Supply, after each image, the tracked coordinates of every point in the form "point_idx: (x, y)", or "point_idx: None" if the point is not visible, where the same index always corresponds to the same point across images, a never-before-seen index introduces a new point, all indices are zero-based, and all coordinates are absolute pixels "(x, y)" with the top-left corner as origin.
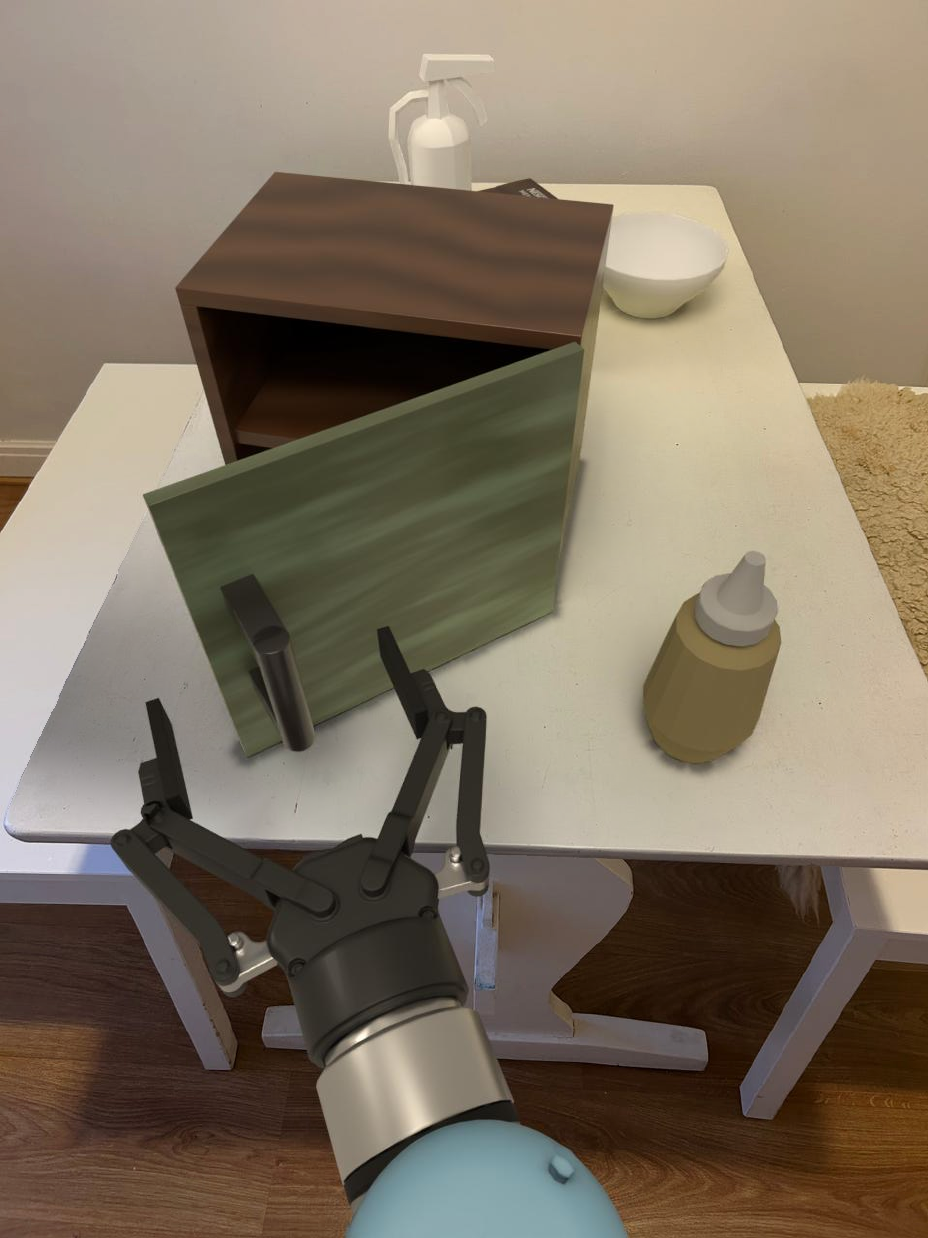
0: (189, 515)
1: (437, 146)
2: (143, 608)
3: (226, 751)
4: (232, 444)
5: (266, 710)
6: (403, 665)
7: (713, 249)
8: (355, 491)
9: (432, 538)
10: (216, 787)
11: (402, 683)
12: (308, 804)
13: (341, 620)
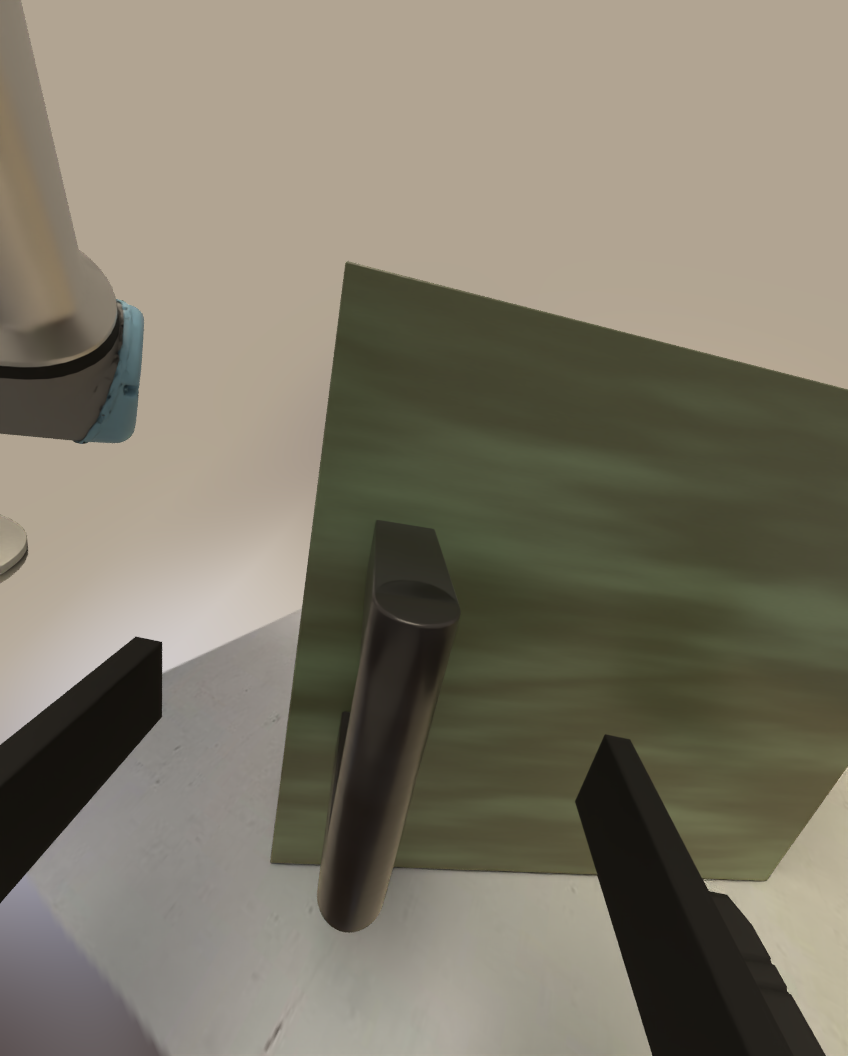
0: (398, 333)
1: None
2: (297, 633)
3: (254, 833)
4: None
5: (330, 794)
6: (681, 853)
7: None
8: (650, 478)
9: (700, 647)
10: (197, 889)
11: (689, 913)
12: (297, 1045)
13: (509, 708)
